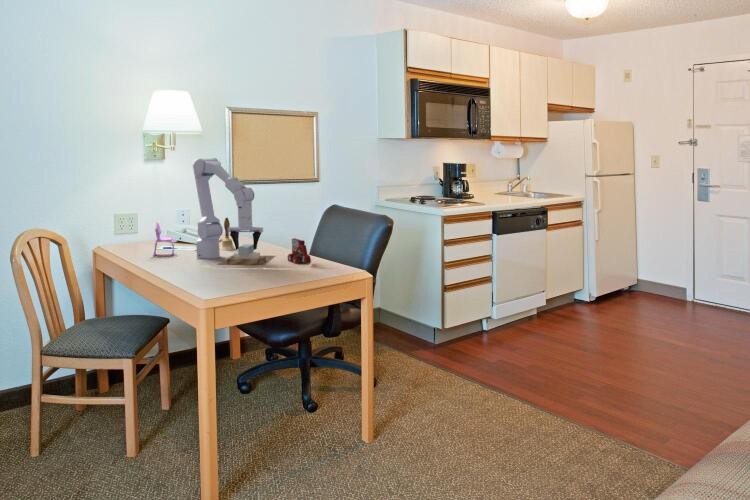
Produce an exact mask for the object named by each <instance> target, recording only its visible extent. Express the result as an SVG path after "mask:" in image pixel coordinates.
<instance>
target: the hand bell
mask: <svg viewBox="0 0 750 500" xmlns="http://www.w3.org/2000/svg"><path fill="white" fill-rule="evenodd" d="M230 225H231V224H230V220H229V217H225V219H224V223H223V228H224V231H225V234H224V235H225V237H224V238H223V239H222V242H221V246H220V247H219V250H220V251H221V252H222V251H225V252H227V251H228V252H229V251H235V250H236V248H235V245H234V242H233V239H232V238H230V232H228V227H231V226H230Z"/></svg>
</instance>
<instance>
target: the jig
mask: <svg viewBox="0 0 750 500" xmlns="http://www.w3.org/2000/svg"><path fill="white" fill-rule="evenodd" d="M275 257H276V255H260V258H259V259H234V254H232V255H230V256H228V257H227V258H225V259H224V260H222V261H220V262H218V263H217V264H216V265H219V266H220V265H221V266H265V265H266V264H268V263H269V262H271V261H272V260H273V259H274V258H275Z"/></svg>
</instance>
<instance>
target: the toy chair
mask: <svg viewBox="0 0 750 500" xmlns="http://www.w3.org/2000/svg"><path fill="white" fill-rule="evenodd" d="M154 225H155V229H154V231H155V235H156V239H155V243H154V251H153V257H155V255H156V253H157V245H158V243H162V242H163V243H165V242H167V243H171V247H172V252H171V256H174V253H175V252H174V251H175V242H174V240H173V237H161V233H162V230H161V226H160V224H159V223H158V222H156V221H155V222H154Z"/></svg>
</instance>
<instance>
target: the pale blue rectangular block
mask: <svg viewBox="0 0 750 500" xmlns="http://www.w3.org/2000/svg"><path fill="white" fill-rule="evenodd" d="M237 250H238V251H237V252H238V254H239V255H249V254H250V253H252V252H255V250H254V243H253V244H252V243H251V244H250V243H244V244H243V245H241V246H240V245H239V247H238V249H237Z"/></svg>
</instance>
